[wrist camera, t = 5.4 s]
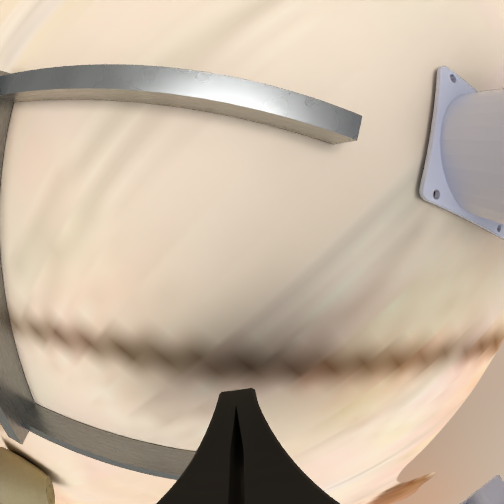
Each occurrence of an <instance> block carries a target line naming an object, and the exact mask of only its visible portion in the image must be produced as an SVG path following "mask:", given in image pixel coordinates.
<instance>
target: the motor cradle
mask: <svg viewBox="0 0 504 504" xmlns="http://www.w3.org/2000/svg"><path fill="white" fill-rule="evenodd" d="M59 99H88V100H113V101H128V102H140V103H150V104H158V105H167V106H174V107H181V108H188V109H194V110H200V111H206V112H211V113H217V114H222V115H227V116H232V117H236V118H241V119H246V120H250V121H254V122H258V123H262V124H266V125H270V126H274V127H278V128H282V129H285V130H289V131H293V132H296V133H299V134H303V135H306V136H309V137H313V138H316V139H319V140H322V141H325V142H328V143H331V144H337V143H343V142H350V141H357V138H358V134H359V129H360V124H361V119H362V116H361V115H358V114H356V113H353V112H351V111H348V110H346V109H343V108H340V107H338V106H335V105H332V104H329V103H327V102H324V101H321V100H318V99H315V98H312V97H309V96H306V95H302V94H299V93H296V92H292V91H289V90H285V89H282V88H278V87H274V86H271V85H267V84H263V83H259V82H254V81H250V80H245V79H241V78H236V77H231V76H226V75H220V74H214V73H208V72H202V71H195V70H187V69H179V68H170V67H158V66H144V65H77V66H63V67H53V68H44V69H37V70H30V71H24V72H18V73H13V74H10V73H6V72H3V71H0V183H1V171H2V162H3V154H4V147H5V141H6V135H7V130H8V125H9V120H10V115H11V111H12V107H13V103H14V102H21V101H35V100H59ZM0 423H1V425H2V427H3V428H4V430H5V431H6V433H7V435H8V436H9V437H10V438H12V439H13V440H15V441H17V442H19V443H20V444H23V442H24V440H25V438H26V436H27V434H28V432H29V431H31V432H33V433H35V434H37V435H39V436H41V437H43V438H45V439H47V440H49V441H51V442H53V443H56V444H58V445H60V446H62V447H65V448H67V449H70V450H72V451H74V452H77V453H80V454H82V455H85V456H88V457H90V458H93V459H96V460H99V461H102V462H105V463H108V464H111V465H115V466H118V467H122V468H125V469H129V470H133V471H137V472H141V473H145V474H149V475H154V476H159V477H164V478H169V479H175V480H178V479H179V477H180V476H181V475H182V473H183V472H184V471H185V469H186V468H187V466H188V465H189V463H190V462H191V460H192V458H193V457H194V455H195V453H196V452H193V451H186V450H180V449H175V448H169V447H164V446H159V445H155V444H150V443H146V442H142V441H138V440H134V439H130V438H126V437H123V436H119V435H116V434H112V433H109V432H106V431H103V430H100V429H97V428H94V427H91V426H88V425H85V424H82V423H80V422H77V421H75V420H72V419H69V418H67V417H64V416H62V415H60V414H57V413H55V412H53V411H51V410H48V409H46V408H44V407H42V406H40V405H38V404H36V403H34V401H33V398H32V396H31V393H30V390H29V388H28V385H27V382H26V379H25V376H24V373H23V370H22V367H21V364H20V360H19V357H18V353H17V350H16V346H15V342H14V338H13V334H12V330H11V325H10V321H9V316H8V310H7V305H6V299H5V293H4V286H3V278H2V268H1V257H0Z"/></svg>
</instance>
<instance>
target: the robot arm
mask: <svg viewBox="0 0 504 504" xmlns="http://www.w3.org/2000/svg"><path fill="white" fill-rule="evenodd" d="M450 77H451V79H452V81H451V79H450ZM434 191H435V197H433V192H434ZM419 193H420V196H421V198H422V199H423V200H425V201H427V202H430V203H432V204H434V205H436V206H439V207H441V208H443V209H445V210H447V211H449V212H451V213H453V214H456V215H458V216H460V217H462V218H464V219H466V220H468V221H470V222H472V223H474V224H475V225H477V226H479V227H481V228H483V229H485V230H487V231H489V232H490V233H492V234H494V235H496V236H498V237H499V238H502V239H504V89H497V90H489V91H482V92H478V91H476V90H475V89H474V88H473V87H472V86H470V85H469V84H468V83H467V82H466V81H464V80H463V79H462V78H461V77H459V76H458V75H457V74H455V73H454V72H453V71H451V70H450V69H449V68H447V67H445V66H442V67H439V68H438V70H437V81H436V93H435V103H434V111H433V119H432V126H431V133H430V139H429V145H428V150H427V156H426V161H425V166H424V170H423V175H422V179H421V184H420V188H419ZM157 504H340V503H338V502H337V501H335V500H334V499H333V498H332V497H330V496H329V495H328V494H327V493H325V492H324V491H323V490H322V489H321V488H319V487H318V486H317V485H316V484H315V483H314V482H313V481H312V480H311V479H310V478H309V477H308V476H307V475H306V474H305V473H304V472H303V471H302V470H301V469H300V468H299V467H298V466H297V465H296V463H295V462H294V461H293V460H292V459H291V457H290V456H289V455H288V454H287V452H286V451H285V450H284V448H283V447H282V446H281V444H280V443H279V441H278V440H277V438H276V437H275V435H274V434H273V432H272V430H271V429H270V427H269V425H268V423H267V421H266V420H265V418H264V416H263V414H262V411H261V409H260V407H259V404H258V401H257V397H256V393H255V390H254V389H252V388H249V389H242V390H235V391H227V392H221V393H220V394H219V398H218V402H217V405H216V408H215V411H214V414H213V417H212V419H211V422H210V424H209V427H208V429H207V431H206V434H205V436H204V438H203V440H202V442H201V444H200V446H199V448H198V450H197V451H196V453H195V455H194V457H193V458H192V460H191V462H190V463H189V465H188V466H187V468H186V469H185V471H184V472H183V473H182V475H181V476H180V477H179V479H178V480H177V481H176V483H175V484H174V485H173V486H172V488H171V489H170V490H169V491H168V492H167V493H166V494H165V495H164V496H163V497H162V498H161V500H160V501H159V502H158V503H157ZM460 504H504V482H503V481H502V479H501V477H500V476H499V475H496V476H495V477H494V478H492V479H491V480H490V481H489V482H487V483H486V484H485V485H483V486H482V487H481V488H480V489H478V490H477V491H475V492H474V493H473V494H472V495H471V496H469V498H467V500H465V501H464V502H462V503H460Z"/></svg>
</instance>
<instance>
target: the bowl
mask: <svg viewBox="0 0 504 504" xmlns="http://www.w3.org/2000/svg"><path fill="white" fill-rule="evenodd" d="M0 504H55V495H54V489H53V484H52V481H51V479H50V477H49V476H48V475H46V474H45V473H44V472H43V471H41V470H40V469H39V468H37V467H36V466H35V465H33V464H32V463H30V462H29V461H27V460H26V459H24V458H22V457H21V456H19V455H17V454H16V453H14V452H12V451H10V450H8V449H6V448H3V447H0Z"/></svg>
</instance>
